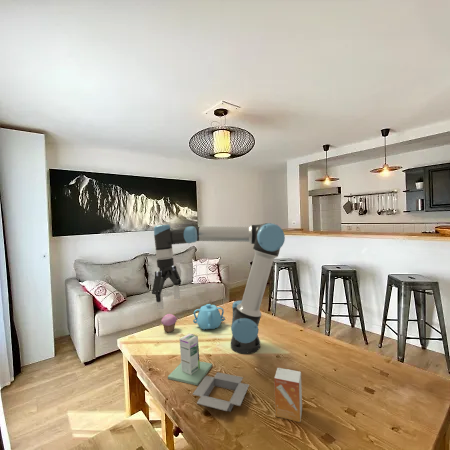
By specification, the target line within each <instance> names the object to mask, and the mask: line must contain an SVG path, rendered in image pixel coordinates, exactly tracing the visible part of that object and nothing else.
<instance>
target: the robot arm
mask: <svg viewBox="0 0 450 450" xmlns="http://www.w3.org/2000/svg"><path fill="white" fill-rule="evenodd" d="M153 236H154V237H153V238H154V245H155V255H156V267H157V268H158V269H159V271H155V272H154V280H153V284H152V291H151V294H152V295H155V301H156V306H157V307H156V308H157V310H163V309H164V308H165V307H164V300H163V293H162V291H163V288H164V285H165V282H166V281H167V280H168V279H169V280H170V281H171V282H172V283H173V285H172V286H173V296H174V297H173V298H174V299H175V300H180V299H181V295H180V293H181V292H180V286H181V285H182V278H181V277H180V273H179V272H178V268H177V265H175V261H174V252H173V245H182V244H193V243H196V242H228V243H229V242H230V243H231V242H233V243H234V242H239V243H242V242H243V243H249V244H250V245H253V247H252V250H253V252H254V256H253V260H252V262H251V263H252V264H251V268H250V271H249V275H248V278H247V281H246V284H245V289H244V292H243V295H242V299H241V300H236V301H234V302H233V303H232V307H231V308H232V319H231V320H232V321H231V327H230V331H231V334H232V335H231V339H230V349H231V350H232V351H233V352H235V353H238V354H242V355H247V354H253V353H256V352H258V351H259V350H261V340H260V337H259V325H260V321H261V317H262V311H261V310H260V307H261V304H262V301H263V298H264V294H265V290H266V287H267V283H268V281H269V276H270V273H271V269H272V266H273V263H274V260H275V259H277V258H278V257H279V254H280V251H281V249H282V247H283V246H284V244H285V240H286V238H285V237H286V236H285V232H284V230H283V228H282V227H281V226H279V225H278V224H275V223H272V222H267V223H260V224H250V225H249V226H193V225H189V226H182V227H176V228H175V227H172V228H171V225H170V224H160V225H155V226H154V227H153Z"/></svg>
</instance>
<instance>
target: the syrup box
mask: <svg viewBox="0 0 450 450" xmlns="http://www.w3.org/2000/svg"><path fill="white" fill-rule="evenodd" d="M179 349H180V351H179V352H180V363H181V369H182V371H183V372H185V373H187V374H189V375H192V374H193V373H194V372H195V371H197V370H198V369H200V362H199V361H200V353H199V352H200V347H199V336H198V335H197V334H194V333H190V332H189V333H187V334H186V335H184V336H182V337H180V338H179Z"/></svg>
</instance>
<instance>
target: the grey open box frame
mask: <svg viewBox="0 0 450 450" xmlns="http://www.w3.org/2000/svg"><path fill="white" fill-rule="evenodd" d="M243 379H244V377H243V376H240V375H234V374H227V373H224V372H223V373H222V372H216V373H215V375H214V376H209V375H205V377H204V378H203V379H202V381H201V382H200V383H199V385H198V386H197V387H196V389H195V390H194V392H193V393H192V395H193V396H197V397H199V398H198V400H197V402H196V405H201V406H204V407H208V408H213V409H216V410H221V411H224V412H230V413H231V411H232V410H233V408H234V406H238V407H241V406H242V403H243V401H244V398H245V397H246V393H247V392H248V389H249V386H250V384H248V383H243V382H242V381H243ZM214 387H219V388H223V389H227V390H233V393H232V396H231V397H230V399H229V401H228V400H223V399H220V398H215V397H212V396H210V394H211V392H212V391H213V390H214Z"/></svg>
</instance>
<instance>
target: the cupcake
mask: <svg viewBox="0 0 450 450" xmlns="http://www.w3.org/2000/svg"><path fill="white" fill-rule="evenodd" d="M177 321H178V319H177V317H176V315H174V314H172V313H167V314H165V315H164V316H163V317H162V318H161V321H160V322H161V324H162V325H163V331H164V332H165V333H171V332H173V331H175V327H176V323H177Z"/></svg>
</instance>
